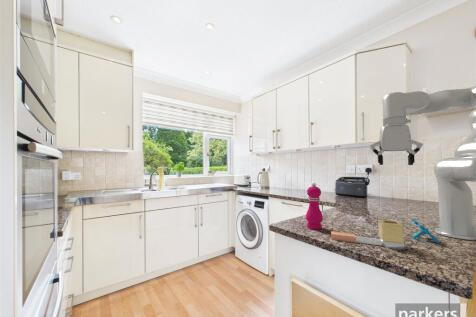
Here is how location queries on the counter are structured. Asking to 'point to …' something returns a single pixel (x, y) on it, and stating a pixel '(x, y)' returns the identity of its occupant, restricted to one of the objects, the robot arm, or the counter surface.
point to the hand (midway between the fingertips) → (395, 164)
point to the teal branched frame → (423, 232)
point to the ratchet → (366, 240)
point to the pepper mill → (314, 208)
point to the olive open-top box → (391, 231)
